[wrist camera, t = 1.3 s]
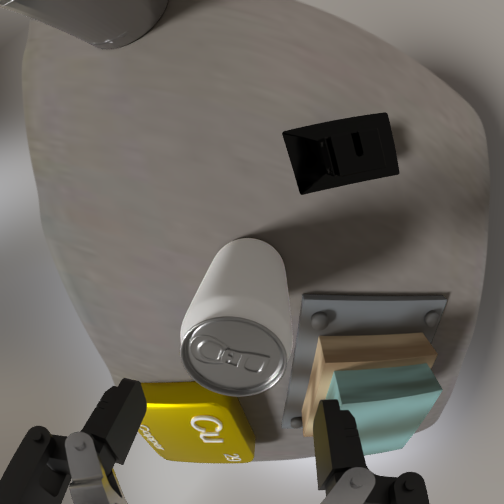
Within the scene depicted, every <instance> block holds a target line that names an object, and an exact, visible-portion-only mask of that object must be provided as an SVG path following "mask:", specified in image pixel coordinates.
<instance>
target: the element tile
mask: <svg viewBox="0 0 504 504" xmlns="http://www.w3.org/2000/svg"><path fill="white" fill-rule="evenodd" d="M141 386H142V389H143V392H144V395H145V398H146V401H147V410H146V414H145V416H144V418H143V421H142V423H141V425H140V427H139V430H138V432H139V433H140V434H141V435H142V437H143V438H144V439H145V440H146V441H147V442H148V443H149V444H150V446H151V447H152V448H153V449H154V450H155V451H156V452H157V453H158V454H159V455H160V456H162V457H163V458H164V459H166V460H171V461H181V462H194V463H248V462H251V461H252V460H253V458H254V451H255V435H254V433H253V431H252V428H251V426H250V424H249V422H248V420H247V418H246V416H245V413H244V411H243V409H242V407H241V405H240V402H239V400H238V398H237V397H236V396H227V395H222V394H218V393H215V392H213V391H210V390H208V389H206V388H204V387H203V386H201V385H200V384H198V383H197V382H196V381H194V382H171V383H141Z"/></svg>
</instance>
